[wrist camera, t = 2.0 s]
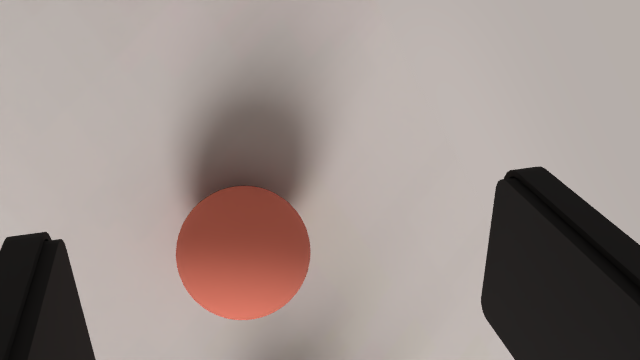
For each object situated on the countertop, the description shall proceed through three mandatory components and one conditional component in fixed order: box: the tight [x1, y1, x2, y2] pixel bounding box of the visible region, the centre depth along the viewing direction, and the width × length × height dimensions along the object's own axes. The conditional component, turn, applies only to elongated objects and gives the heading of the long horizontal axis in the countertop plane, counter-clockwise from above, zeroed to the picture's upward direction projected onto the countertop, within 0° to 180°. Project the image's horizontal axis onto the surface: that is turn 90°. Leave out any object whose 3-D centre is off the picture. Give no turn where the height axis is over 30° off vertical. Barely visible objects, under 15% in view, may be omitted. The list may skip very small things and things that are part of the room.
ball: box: [176, 186, 310, 320], centre depth 27 cm, size 6×6×6 cm
